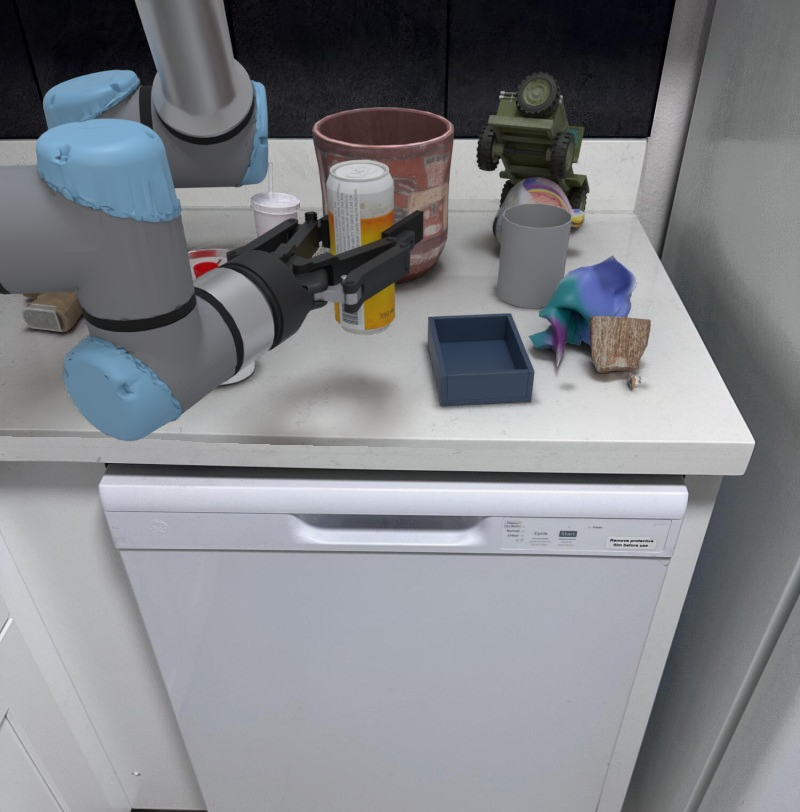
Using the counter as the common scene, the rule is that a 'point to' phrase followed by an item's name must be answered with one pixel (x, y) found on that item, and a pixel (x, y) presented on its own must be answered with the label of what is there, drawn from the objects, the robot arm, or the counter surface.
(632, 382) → the figurine
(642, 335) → the stone
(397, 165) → the pottery
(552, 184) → the anatomical model
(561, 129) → the toy jeep
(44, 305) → the handgun
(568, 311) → the figurine
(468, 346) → the bin
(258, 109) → the robot arm
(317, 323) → the counter surface
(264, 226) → the smoothie
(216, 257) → the white ridged cylinder
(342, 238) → the beer can
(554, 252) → the cup
